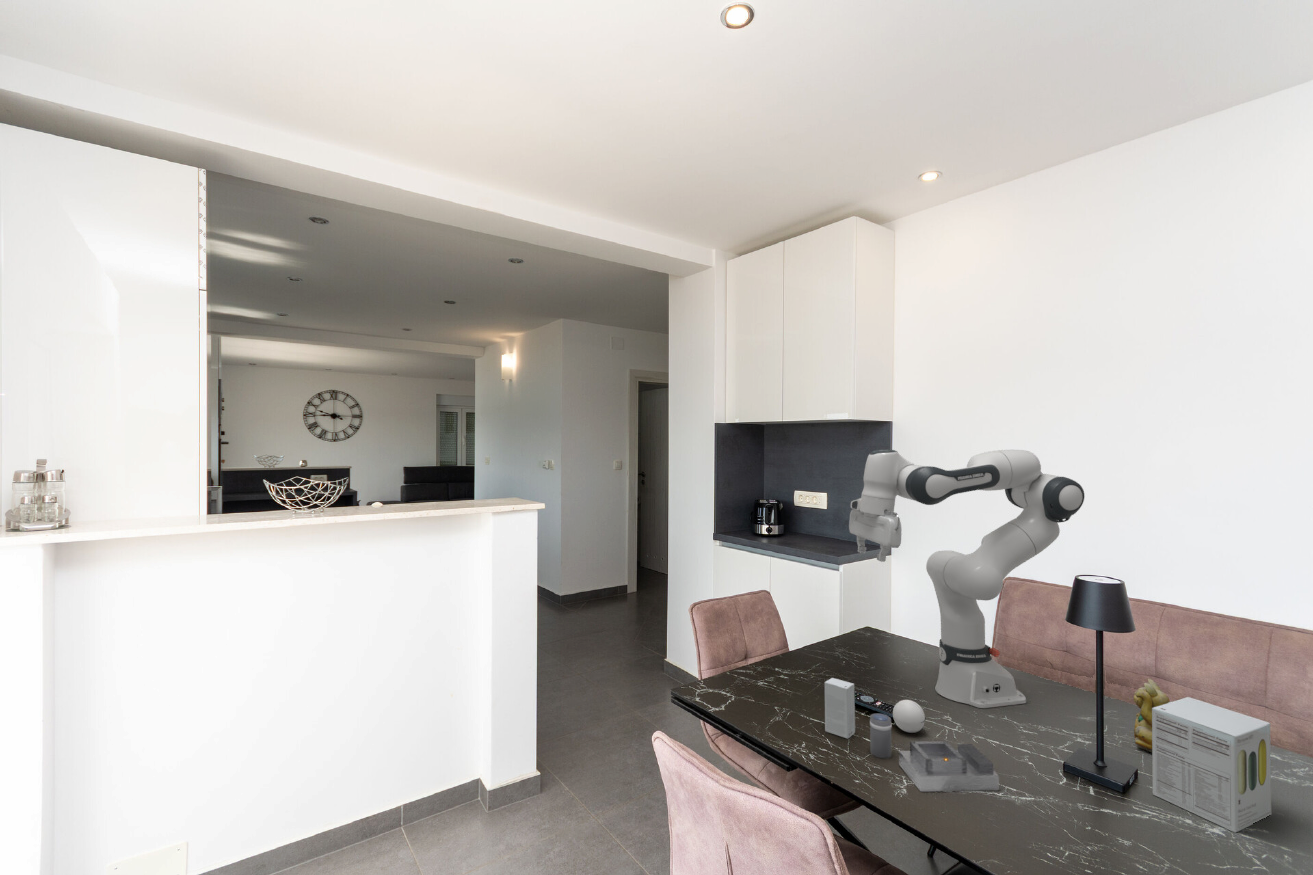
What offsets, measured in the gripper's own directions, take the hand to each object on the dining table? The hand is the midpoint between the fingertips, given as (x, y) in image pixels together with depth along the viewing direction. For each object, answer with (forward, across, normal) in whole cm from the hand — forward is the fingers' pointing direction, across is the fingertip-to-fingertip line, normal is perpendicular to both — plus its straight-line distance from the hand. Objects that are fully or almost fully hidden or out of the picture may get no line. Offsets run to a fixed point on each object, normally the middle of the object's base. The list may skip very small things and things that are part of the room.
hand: (871, 556), depth 164 cm
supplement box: (+32, -60, -40) cm, 79 cm away
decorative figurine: (+32, -41, -52) cm, 73 cm away
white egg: (+38, -20, -3) cm, 43 cm away
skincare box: (+40, -18, +14) cm, 46 cm away
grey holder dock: (+37, -40, +3) cm, 55 cm away
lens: (+39, -29, +11) cm, 50 cm away
